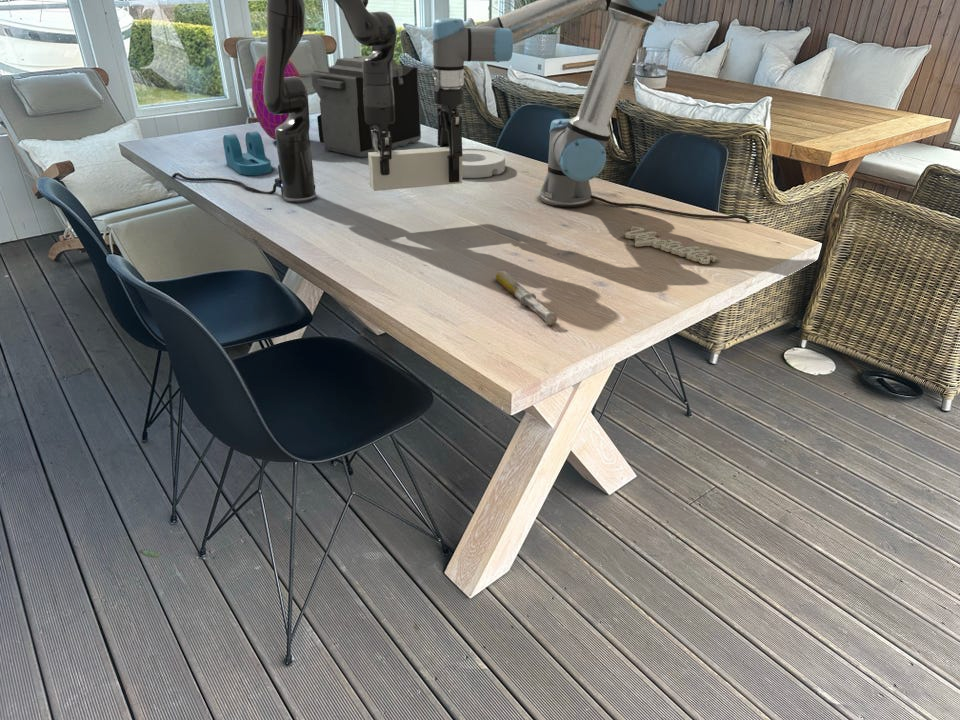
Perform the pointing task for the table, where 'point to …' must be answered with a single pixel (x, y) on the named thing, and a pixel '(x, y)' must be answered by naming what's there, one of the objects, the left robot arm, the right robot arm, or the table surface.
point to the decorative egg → (263, 115)
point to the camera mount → (246, 154)
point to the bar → (412, 169)
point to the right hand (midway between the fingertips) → (449, 178)
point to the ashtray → (481, 162)
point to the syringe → (525, 297)
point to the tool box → (345, 107)
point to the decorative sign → (669, 245)
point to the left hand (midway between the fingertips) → (382, 171)
